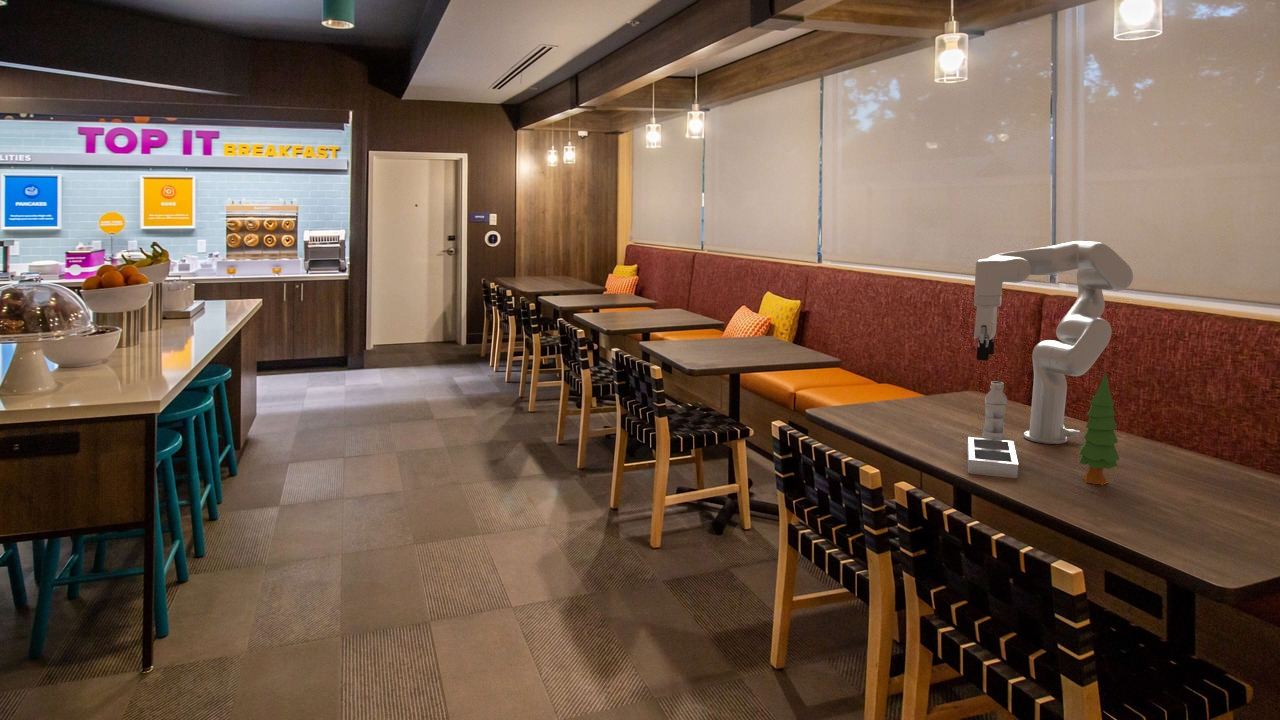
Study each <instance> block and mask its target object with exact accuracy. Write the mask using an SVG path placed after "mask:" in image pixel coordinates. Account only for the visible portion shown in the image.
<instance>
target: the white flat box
mask: <svg viewBox="0 0 1280 720" xmlns="http://www.w3.org/2000/svg"><path fill="white" fill-rule="evenodd" d="M966 449H967V451H966V452H967V473H968V474H971V475H980V476H981V475H982V476H989V477H990V476H991V477H999V478H1007V479H1008V478H1011V479H1018V472H1019V461H1018V457H1017V452H1016V448H1015V442H1014V441H1013V440H1007V439H1006V440H1005V439H1004V440H996V439H984V438H982V437H973V436H972V437H971V436H968V437H967V447H966Z"/></svg>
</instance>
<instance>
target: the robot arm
mask: <svg viewBox="0 0 1280 720" xmlns="http://www.w3.org/2000/svg"><path fill="white" fill-rule="evenodd" d="M1073 270H1077V271H1076V282H1077V290H1078V291H1077V292H1078V294H1077V298H1076V300H1075V301H1074V303H1073V305H1072V306H1071V308H1069V310H1068V311H1067V313H1066V314H1064V316H1063V318H1062V319H1061V320H1060V321H1059V323H1058V325H1057V327H1056V331H1055V333H1056V334H1055V335H1056V337H1057V339H1058V340H1060V341H1058V340H1053V339H1052V340H1051V339H1046V340H1042V341H1040V342H1038V343H1037V344H1036V345H1035V346H1034V348H1033V350H1032V355H1031V356H1032V367H1033V368H1032V369H1033V386H1032V395H1031V397H1032V399H1031V410H1030V421H1029V430H1026V431H1024V432H1023V438H1025V440H1028V441H1031V442H1035V443H1040V444H1046V445H1048V444H1050V445H1060V444H1065V443H1068V437H1075V438H1076V437H1077V438H1079V437H1080V430H1075V429H1072V428H1071V429H1070V428H1069V429H1068V428H1066V427H1065V425H1064V421H1065V420H1064V419H1065V412H1066V411H1065V410H1066V401H1067V400H1066V399H1067V390H1068V383H1067V379H1066V376H1070V377H1080V376H1082V375H1084V374H1085V373H1087V372H1088V371H1089V370H1090V368H1091V367H1092V366H1093V365H1094V364H1095V362H1096V361H1097V359H1098V358H1099V357H1100V355H1101V354H1102V353H1103V351H1104V350H1105V349H1106V347H1107V346H1108V344H1109V343H1110V341H1111V337H1112V332H1113V331H1112V327H1111V324H1110V322H1108V321H1107V320H1106V319H1104V318H1101V316H1102V315H1103V313H1104V311H1105V307H1106V303H1105V301H1106V300H1105V297H1104V293H1103V290H1105V291H1113V292H1119V291H1125V290H1127V288H1129V287H1130V286H1131V285H1132V283H1133V280H1134V274H1133V270H1132V268H1131V266H1130V265H1129V264H1128V263H1127V262H1126V261H1125V260H1124V259H1123V258H1122V257H1121V256H1120V255H1119V254H1118V253H1117V252H1116V251H1115V250H1113V248H1111V247H1110V246H1108V245H1107V244H1105V243H1103V242H1100V241H1086V240H1085V241H1084V240H1075V241H1069V242H1065V243H1064V242H1063V243H1059V244H1055V245H1049V246H1045V247H1038V248H1036V247H1035V248H1030V249H1023V250H1022V249H1021V250H1014V251H1008V252H1002V253H997V254H994V255H991V256H989V257H988V258H982V259H978V260H977V261H976V262H975V275H974V299H973V302H974V303H973V306H974V307H976V313H975V321H974V322H975V323H974V333H973V338H974V340H978V342H977V347H976V360H977V361H984V362H987V361H989V355H994V354H995V336H996V334H997V321H998V307H1001V306H1002V299H1003V298H1002V297H1003V283H1015V284H1016V283H1021V282H1024V281H1025V280H1027V279H1028V278H1029V276H1050V275H1055V274H1059V273H1064V272H1069V271H1073ZM1065 375H1066V376H1065Z"/></svg>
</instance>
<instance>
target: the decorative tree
mask: <svg viewBox="0 0 1280 720" xmlns="http://www.w3.org/2000/svg"><path fill="white" fill-rule="evenodd" d="M1089 403H1090V404H1091V406H1090V408H1089V409H1088V410H1089V411H1088V412H1087V414H1086V415H1087V416H1088V417H1089V418H1088V420H1087V424H1086V425H1085V429H1086V428H1087V430H1086V432H1085V434H1084V435H1083V437H1082V438H1084V439H1085V441H1084V443H1083V444H1082V445H1081V447H1080V449H1079V455H1080V458H1079V464H1081V465H1088V469H1087V471H1086V473H1085V474H1084V475H1083V476H1082V480H1083V479H1084V480H1085V481H1086V482H1088V483H1087V484H1089V483H1094V484H1093V485H1095V484H1104V483H1106V482H1108V481H1109V480H1107V478H1106V477H1105V475H1104V474H1103V472H1104V469H1108V470H1111V469H1113V468H1115V467H1118V464H1117V461H1119V460H1120V457H1119V454H1118V451H1117V449H1116V446H1115V444H1117V443H1119V441H1118V439H1117V436H1116V434H1115V431H1114V430H1116V429H1118V427H1117V423H1116V420H1115V417H1114V416H1116V412H1115V409H1114V406H1115V404H1114V401H1113V398H1112V395H1111V389H1110V384H1109V379H1108V376H1107V372H1106V371H1105V372H1104V375H1103V377H1102V380H1101V382H1100V385H1099V387H1098V389H1097V391H1096V392H1095V394H1094V395H1093V397H1092V398H1091V400H1090V402H1089ZM1084 480H1083V481H1084ZM1085 481H1084V482H1085ZM1086 482H1085V483H1086ZM1108 483H1109V482H1108Z"/></svg>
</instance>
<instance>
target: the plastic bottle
mask: <svg viewBox="0 0 1280 720" xmlns="http://www.w3.org/2000/svg"><path fill="white" fill-rule="evenodd" d="M990 382H991V383H990V387H989V388H990V390H989V391H988V392H987V394H986V395H985V398H984V407H985V411H984V412H985V418H984V419H985V420H984V425H983V430H982V434H981V438H984V439H996V440H1005V433H1004V421H1005V420H1004V419H1005V413H1006V408H1007V404H1008V398H1007V396H1006V394H1005V392H1004V388H1005V386H1004V385H1005V384H1004V382H1002V381H990Z"/></svg>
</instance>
